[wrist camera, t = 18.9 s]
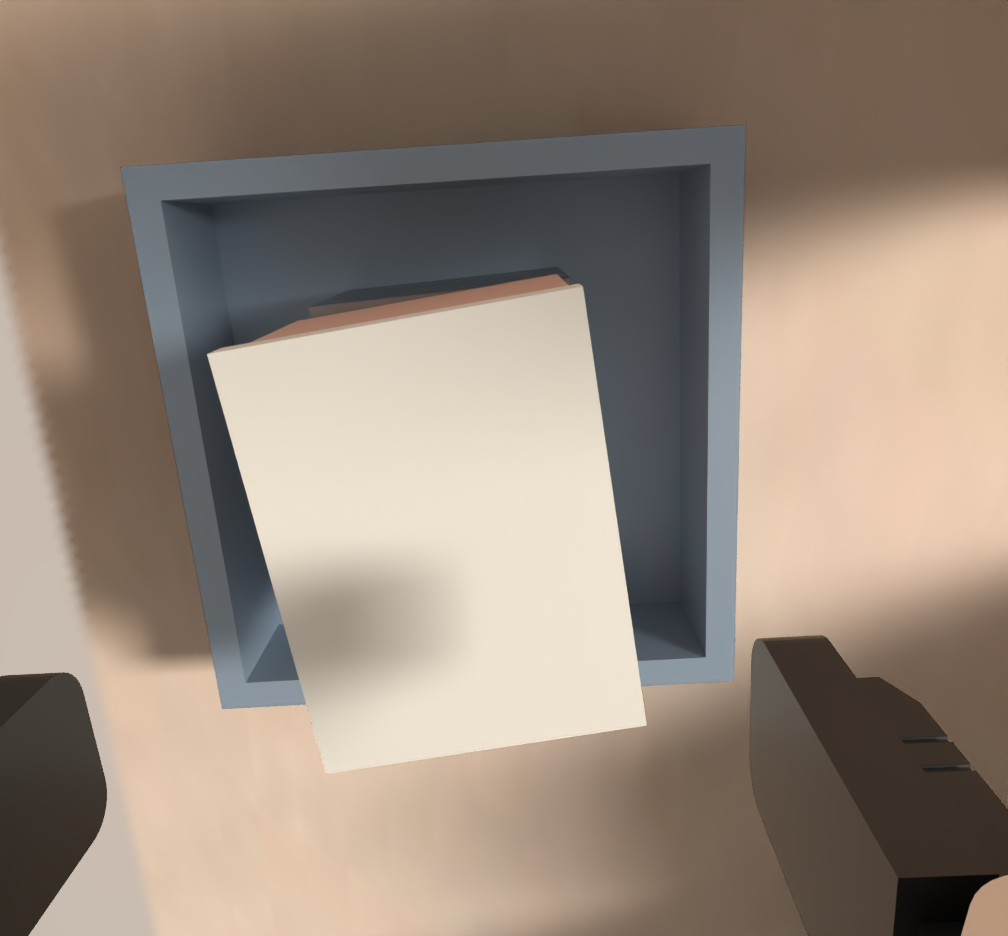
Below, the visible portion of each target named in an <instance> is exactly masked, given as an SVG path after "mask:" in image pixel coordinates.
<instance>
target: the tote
mask: <svg viewBox="0 0 1008 936" xmlns="http://www.w3.org/2000/svg"><path fill="white" fill-rule="evenodd" d="M745 134H746V124H745V125H730V126H715V127H700V128H686V129H671V130H656V131H642V132H627V133H612V134H598V135H583V136H568V137H554V138H539V139H524V140H509V141H495V142H480V143H465V144H451V145H436V146H421V147H407V148H392V149H377V150H363V151H348V152H333V153H318V154H304V155H289V156H274V157H260V158H245V159H230V160H216V161H201V162H186V163H171V164H157V165H142V166H127V167H120V168H121V173H122V179H123V184H124V189H125V195H126V200H127V205H128V211H129V216H130V221H131V226H132V232H133V237H134V242H135V248H136V253H137V258H138V264H139V269H140V274H141V280H142V285H143V290H144V296H145V301H146V306H147V312H148V317H149V322H150V328H151V333H152V338H153V344H154V349H155V354H156V360H157V365H158V370H159V376H160V381H161V386H162V392H163V397H164V402H165V408H166V413H167V418H168V424H169V429H170V434H171V440H172V445H173V450H174V456H175V461H176V466H177V472H178V477H179V482H180V488H181V493H182V498H183V503H184V509H185V514H186V519H187V525H188V530H189V535H190V541H191V546H192V551H193V557H194V562H195V567H196V573H197V578H198V583H199V589H200V594H201V599H202V605H203V610H204V615H205V621H206V626H207V631H208V637H209V642H210V647H211V653H212V658H213V663H214V669H215V674H216V679H217V685H218V690H219V695H220V701H221V706H222V709H232V708H251V707H269V706H287V705H305V704H306V702H305V699H304V695H303V692H302V688H301V685H300V681H299V678H298V674H297V671H296V667H295V663H294V660H293V656H292V653H291V649H290V646H289V642H288V639H287V635H286V632H285V628H284V625H283V621H282V618H281V614H280V610H279V607H278V603H277V600H276V596H275V593H274V589H273V586H272V582H271V579H270V575H269V572H268V568H267V565H266V561H265V557H264V554H263V550H262V547H261V543H260V540H259V536H258V533H257V529H256V526H255V522H254V519H253V515H252V512H251V508H250V505H249V501H248V497H247V494H246V490H245V487H244V483H243V480H242V476H241V473H240V469H239V466H238V462H237V459H236V455H235V452H234V448H233V444H232V441H231V437H230V434H229V430H228V427H227V423H226V420H225V416H224V413H223V409H222V406H221V402H220V399H219V395H218V391H217V388H216V384H215V381H214V377H213V374H212V370H211V367H210V363H209V360H208V356H207V354H208V353H211V352H213V351H215V350H218V349H220V348H223V347H229V346H235V345H240V344H246V343H250V342H253V341H255V340H257V339H259V338H261V337H263V336H266V335H268V334H270V333H272V332H274V331H276V330H279V329H281V328H283V327H285V326H287V325H289V324H292V323H294V322H296V321H299V320H305V319H310V312H309V307H310V306H312V305H315V304H317V303H320V302H322V301H324V300H327V299H329V298H332V297H334V296H336V295H339V294H341V293H343V292H346V291H348V290H355V289H364V288H372V287H381V286H390V285H399V284H408V283H417V282H426V281H435V280H444V279H453V278H462V277H471V276H480V275H489V274H498V273H507V272H516V271H525V270H534V269H542V268H551V267H559V268H560V269H561V270H562V271H564V272H565V273H566V274H567V275H569V276H570V277H571V278H572V285H573V284H580V285H582V286H583V290H584V297H585V304H586V311H587V318H588V325H589V332H590V339H591V345H592V352H593V359H594V366H595V373H596V380H597V387H598V394H599V400H600V407H601V414H602V421H603V428H604V435H605V442H606V449H607V455H608V462H609V469H610V476H611V483H612V490H613V497H614V504H615V510H616V517H617V524H618V531H619V538H620V545H621V552H622V558H623V565H624V572H625V579H626V586H627V593H628V600H629V607H630V613H631V620H632V627H633V634H634V641H635V648H636V655H637V662H638V668H639V675H640V682H641V686H651V685H669V684H688V683H706V682H724V681H734V654H735V607H736V560H737V512H738V465H739V418H740V370H741V323H742V276H743V228H744V181H745Z"/></svg>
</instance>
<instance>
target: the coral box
mask: <svg viewBox="0 0 1008 936" xmlns="http://www.w3.org/2000/svg"><path fill="white" fill-rule="evenodd" d="M207 356H208V360H209V363H210V367H211V370H212V374H213V377H214V381H215V384H216V388H217V391H218V395H219V399H220V402H221V406H222V409H223V413H224V416H225V420H226V423H227V427H228V430H229V434H230V437H231V441H232V444H233V448H234V452H235V455H236V459H237V462H238V466H239V469H240V473H241V476H242V480H243V483H244V487H245V490H246V494H247V497H248V501H249V505H250V508H251V512H252V515H253V519H254V522H255V526H256V529H257V533H258V536H259V540H260V543H261V547H262V550H263V554H264V557H265V561H266V565H267V568H268V572H269V575H270V579H271V582H272V586H273V589H274V593H275V596H276V600H277V603H278V607H279V610H280V614H281V618H282V621H283V625H284V628H285V632H286V635H287V639H288V642H289V646H290V649H291V653H292V656H293V660H294V663H295V667H296V671H297V674H298V678H299V681H300V685H301V688H302V692H303V695H304V699H305V702H306V706H307V709H308V713H309V716H310V720H311V724H312V727H313V731H314V734H315V738H316V741H317V745H318V748H319V752H320V755H321V759H322V762H323V766H324V769H325V773H326V774H330V773H336V772H343V771H349V770H356V769H363V768H369V767H376V766H382V765H389V764H396V763H402V762H409V761H416V760H422V759H429V758H435V757H442V756H449V755H455V754H462V753H469V752H475V751H482V750H488V749H495V748H502V747H508V746H515V745H521V744H528V743H535V742H541V741H548V740H555V739H561V738H568V737H574V736H581V735H588V734H594V733H601V732H607V731H614V730H621V729H627V728H634V727H641V726H647V723H646V717H645V710H644V703H643V696H642V689H641V682H640V675H639V668H638V662H637V655H636V648H635V641H634V634H633V627H632V620H631V613H630V607H629V600H628V593H627V586H626V579H625V572H624V565H623V558H622V552H621V545H620V538H619V531H618V524H617V517H616V510H615V504H614V497H613V490H612V483H611V476H610V469H609V462H608V455H607V449H606V442H605V435H604V428H603V421H602V414H601V407H600V400H599V394H598V387H597V380H596V373H595V366H594V359H593V352H592V345H591V339H590V332H589V325H588V318H587V311H586V304H585V297H584V290H583V286H582V285H580V284H573V285H568V284H567V283H566V282H565V281H563V280H562V279H561V278H560V277H559V276H558V275H557V274H553V275H548V276H542V277H537V278H531V279H526V280H520V281H515V282H509V283H504V284H498V285H493V286H487V287H482V288H476V289H470V290H465V291H459V292H454V293H448V294H443V295H437V296H432V297H426V298H421V299H415V300H410V301H404V302H399V303H393V304H388V305H382V306H377V307H371V308H365V309H360V310H354V311H349V312H343V313H338V314H332V315H327V316H321V317H316V318H310V319H305V320H299V321H296V322H294V323H292V324H289V325H287V326H285V327H283V328H281V329H279V330H276V331H274V332H272V333H270V334H268V335H266V336H263V337H261V338H259V339H257V340H255V341H253V342H250V343H246V344H240V345H235V346H229V347H223V348H220V349H218V350H215V351H213V352H211V353H208V354H207Z"/></svg>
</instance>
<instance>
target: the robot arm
mask: <svg viewBox="0 0 1008 936" xmlns="http://www.w3.org/2000/svg"><path fill="white" fill-rule="evenodd" d="M750 771H751V779H752V785H753V791H754V796H755V800H756V804H757V807H758V810H759V813H760V816H761V818H762V821H763V823H764V826H765V828H766V831H767V833H768V836H769V838H770V841H771V843H772V846H773V848H774V851H775V853H776V856H777V858H778V861H779V864H780V866H781V869H782V871H783V874H784V876H785V879H786V881H787V884H788V886H789V889H790V891H791V894H792V896H793V899H794V901H795V904H796V906H797V909H798V911H799V914H800V916H801V919H802V921H803V924H804V926H805V929H806V931H807V934H808V936H1008V809H1007V808H1006V807H1005V805H1004V804H1003V803H1002V802H1001V801H1000V799H999V798H998V797H997V796H996V795H995V793H994V792H993V791H992V790H991V788H990V787H989V786H988V785H987V784H986V782H985V781H984V780H983V779H982V778H981V776H980V775H979V774H978V773H977V771H971V768H970V763H969V762H968V760H967V759H966V758H965V757H964V756H963V754H962V753H961V752H960V751H959V750H958V748H957V747H956V746H955V745H954V743H953V742H948V740H947V735H946V734H945V733H944V731H943V730H942V729H941V728H940V726H939V725H938V724H937V723H936V722H935V720H934V719H933V718H932V717H931V716H930V714H929V713H928V712H927V711H926V709H925V708H924V707H923V706H922V705H921V703H919V702H918V701H916V700H915V699H913V698H911V697H910V696H908V695H907V694H905V693H903V692H902V691H900V690H899V689H897V688H895V687H894V686H892V685H891V684H889V683H888V682H886V681H884V680H883V679H881V678H880V677H872V678H856V677H855V675H854V674H853V673H852V671H851V670H850V669H849V667H848V666H847V664H846V663H845V662H844V660H843V659H842V658H841V656H840V655H839V653H838V652H837V651H836V649H835V648H834V647H833V645H832V644H831V642H830V641H829V640H828V639H827V638H826V637H825V636H822V635H819V636H800V637H780V638H761V639H756V641H755V642H754V645H753V649H752V660H751V705H750ZM106 801H107V788H106V781H105V776H104V772H103V768H102V765H101V760H100V756H99V752H98V748H97V745H96V741H95V737H94V733H93V729H92V725H91V721H90V717H89V713H88V709H87V705H86V701H85V697H84V694H83V690H82V687H81V686H80V683H79V682H78V680H77V679H76V678H75V677H74V676H73V675H71V674H69V673H45V674H26V675H8V676H1V677H0V936H28V935H29V934H30V932H31V931H32V929H33V928H34V927H35V925H36V924H37V922H38V921H39V919H40V918H41V916H42V915H43V914H44V912H45V911H46V909H47V908H48V906H49V905H50V903H51V902H52V901H53V899H54V898H55V896H56V895H57V893H58V892H59V890H60V889H61V888H62V886H63V885H64V883H65V882H66V880H67V879H68V877H69V876H70V874H71V873H72V872H73V870H74V869H75V867H76V866H77V864H78V863H79V861H80V860H81V859H82V857H83V856H84V854H85V853H86V851H87V850H88V848H89V847H90V846H91V844H92V843H93V841H94V840H95V838H96V836H97V834H98V832H99V830H100V828H101V825H102V822H103V818H104V815H105V809H106Z"/></svg>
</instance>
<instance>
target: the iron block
mask: <svg viewBox="0 0 1008 936" xmlns="http://www.w3.org/2000/svg"><path fill="white" fill-rule="evenodd" d="M553 274H557V275H558V276H559V277H560V278H561V279H562V280H563V281H565V282H566V283H567V284H568V285H572V278H571V277H570V276H569V275H567V274H566V273H565V272H564V271H562V270H561V269H560V268H559V267H551V268H542V269H534V270H525V271H516V272H507V273H498V274H489V275H480V276H471V277H462V278H453V279H444V280H435V281H426V282H417V283H408V284H399V285H390V286H381V287H372V288H364V289H355V290H348V291H346V292H343V293H341V294H339V295H336V296H334V297H332V298H329V299H327V300H324V301H322V302H320V303H317V304H315V305H312V306H310V307H309V312H310V318H316V317H321V316H327V315H332V314H338V313H343V312H349V311H354V310H360V309H365V308H371V307H377V306H382V305H388V304H393V303H399V302H404V301H410V300H415V299H421V298H426V297H432V296H437V295H443V294H448V293H454V292H459V291H465V290H470V289H476V288H482V287H487V286H493V285H498V284H504V283H509V282H515V281H520V280H526V279H531V278H537V277H542V276H548V275H553Z"/></svg>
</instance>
